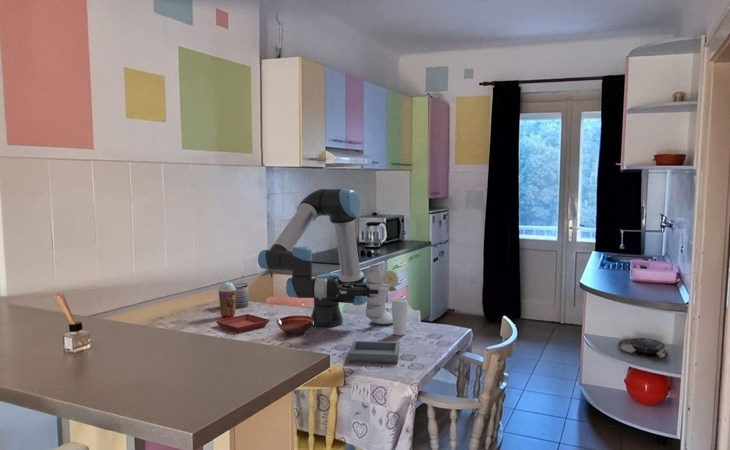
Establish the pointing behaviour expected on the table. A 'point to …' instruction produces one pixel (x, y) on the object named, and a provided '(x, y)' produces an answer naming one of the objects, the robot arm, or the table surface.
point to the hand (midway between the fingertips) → (388, 289)
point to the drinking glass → (399, 316)
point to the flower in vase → (391, 280)
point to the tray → (374, 352)
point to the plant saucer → (242, 322)
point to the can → (241, 295)
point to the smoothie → (227, 299)
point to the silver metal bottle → (374, 301)
